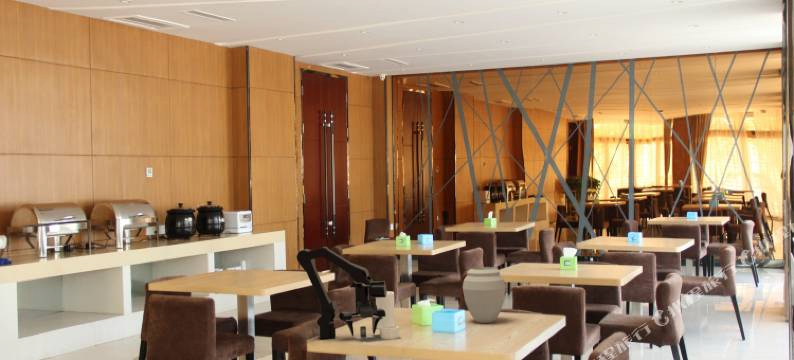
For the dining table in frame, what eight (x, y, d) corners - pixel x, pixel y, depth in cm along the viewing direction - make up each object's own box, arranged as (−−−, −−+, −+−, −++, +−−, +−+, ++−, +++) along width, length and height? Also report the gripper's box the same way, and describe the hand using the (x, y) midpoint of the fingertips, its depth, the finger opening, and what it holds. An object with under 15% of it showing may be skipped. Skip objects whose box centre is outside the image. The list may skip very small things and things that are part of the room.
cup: (393, 330, 356) (391, 293, 356) (375, 330, 357) (373, 293, 358) (397, 326, 364) (395, 291, 364) (379, 326, 366) (377, 291, 366)
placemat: (362, 343, 328) (362, 342, 328) (353, 337, 341) (353, 337, 341) (402, 339, 333) (402, 338, 333) (391, 334, 347) (391, 333, 347)
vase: (513, 319, 371) (511, 266, 371) (495, 326, 355) (493, 271, 355) (475, 317, 382) (473, 265, 382) (456, 324, 365) (454, 270, 365)
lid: (357, 339, 334) (356, 328, 334) (352, 336, 341) (351, 326, 341) (374, 338, 337) (374, 327, 337) (369, 335, 344) (368, 324, 344)
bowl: (384, 340, 331) (383, 329, 331) (378, 337, 338) (377, 326, 338) (401, 338, 334) (401, 327, 334) (395, 335, 341) (395, 325, 341)
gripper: (345, 302, 328) (347, 340, 328) (389, 298, 334) (390, 336, 334) (338, 298, 339) (339, 336, 339) (380, 295, 345) (382, 331, 345)
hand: (363, 335), depth 339 cm, fingers open, 9 cm apart
